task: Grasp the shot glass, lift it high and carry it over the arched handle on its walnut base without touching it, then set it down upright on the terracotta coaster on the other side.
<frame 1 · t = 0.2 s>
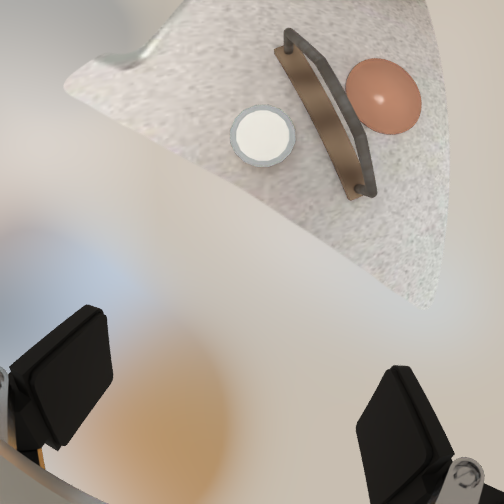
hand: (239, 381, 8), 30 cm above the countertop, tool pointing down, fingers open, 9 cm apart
arched handle: (323, 117, 33), on the countertop
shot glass: (265, 142, 35), on the countertop
coaster: (384, 95, 31), on the countertop
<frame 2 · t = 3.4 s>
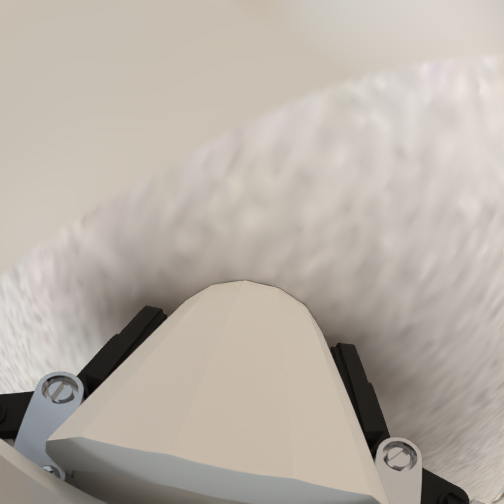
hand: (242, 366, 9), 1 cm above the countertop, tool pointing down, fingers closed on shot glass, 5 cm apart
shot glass: (245, 349, 10), on the countertop, touching gripper
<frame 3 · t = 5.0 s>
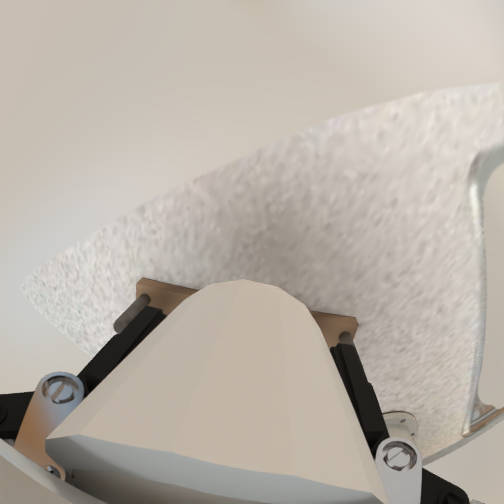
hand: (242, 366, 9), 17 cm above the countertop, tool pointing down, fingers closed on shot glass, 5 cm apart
arched handle: (245, 313, 28), on the countertop
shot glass: (244, 348, 10), point 16 cm above the countertop, touching gripper
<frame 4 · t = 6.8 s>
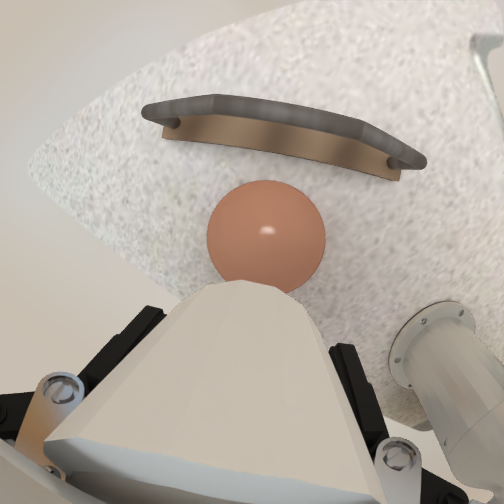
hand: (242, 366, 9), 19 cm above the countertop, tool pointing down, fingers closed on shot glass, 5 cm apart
arched handle: (284, 138, 25), on the countertop
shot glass: (242, 349, 10), point 18 cm above the countertop, touching gripper
coaster: (266, 239, 27), on the countertop
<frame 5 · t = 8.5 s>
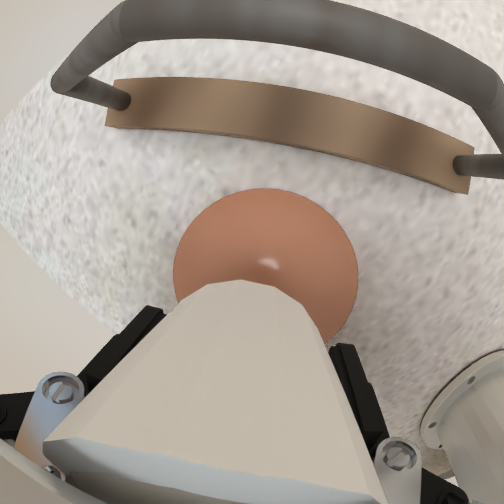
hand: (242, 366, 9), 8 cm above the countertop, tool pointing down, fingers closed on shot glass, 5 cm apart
arched handle: (295, 120, 15), on the countertop
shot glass: (242, 349, 10), point 8 cm above the countertop, touching gripper
coaster: (265, 281, 17), on the countertop
when the fingers open (2 cm above the countertop, at t = 10.2 s): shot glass stays where it is, resting on coaster.
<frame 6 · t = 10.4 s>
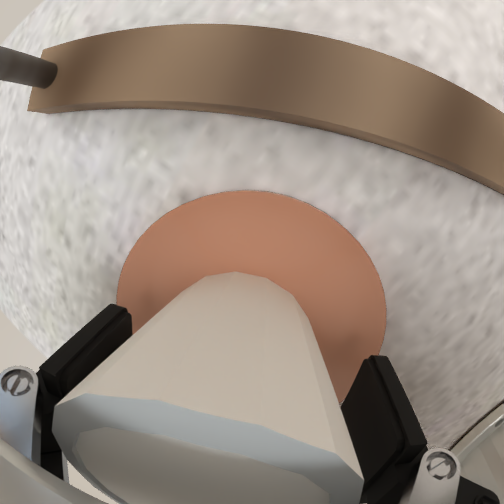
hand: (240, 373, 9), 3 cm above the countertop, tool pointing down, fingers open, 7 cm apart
arched handle: (292, 84, 9), on the countertop
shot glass: (238, 337, 11), point 1 cm above the countertop, touching coaster, gripper
coaster: (247, 329, 11), on the countertop
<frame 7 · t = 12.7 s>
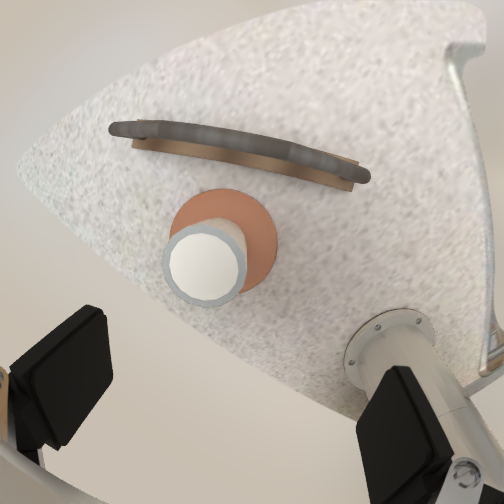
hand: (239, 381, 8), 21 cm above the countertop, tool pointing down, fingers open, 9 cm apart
arched handle: (242, 149, 27), on the countertop
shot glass: (219, 244, 29), point 1 cm above the countertop, touching coaster
coaster: (223, 242, 29), on the countertop
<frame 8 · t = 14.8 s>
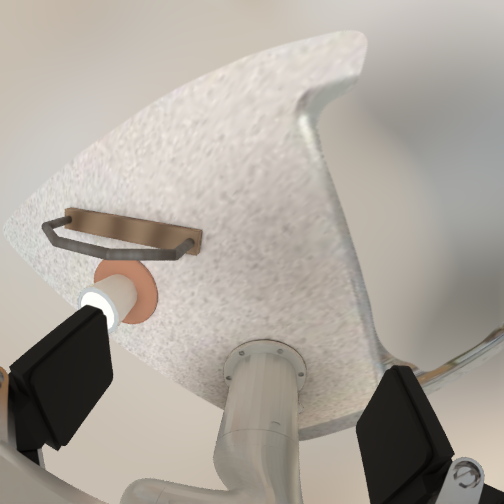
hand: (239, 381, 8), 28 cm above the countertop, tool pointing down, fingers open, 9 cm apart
arched handle: (127, 227, 37), on the countertop
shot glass: (121, 291, 39), point 1 cm above the countertop, touching coaster
coaster: (125, 289, 40), on the countertop
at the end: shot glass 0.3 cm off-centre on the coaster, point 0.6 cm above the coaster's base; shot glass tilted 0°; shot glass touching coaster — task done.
